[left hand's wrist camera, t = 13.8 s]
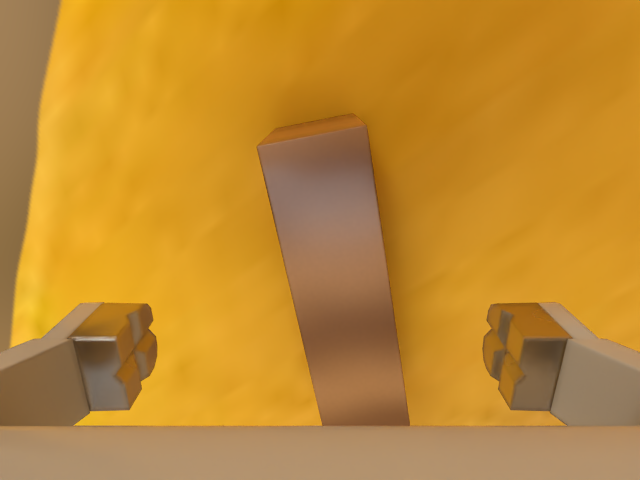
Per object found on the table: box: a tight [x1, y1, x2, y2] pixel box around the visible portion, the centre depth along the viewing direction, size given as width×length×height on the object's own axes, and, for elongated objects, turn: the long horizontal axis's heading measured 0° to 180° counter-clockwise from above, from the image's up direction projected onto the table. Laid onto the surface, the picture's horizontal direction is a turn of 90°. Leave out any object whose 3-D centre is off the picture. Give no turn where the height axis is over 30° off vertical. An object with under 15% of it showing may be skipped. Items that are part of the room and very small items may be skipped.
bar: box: [257, 114, 410, 426], centre depth 30 cm, size 24×6×9 cm, turn 11°
